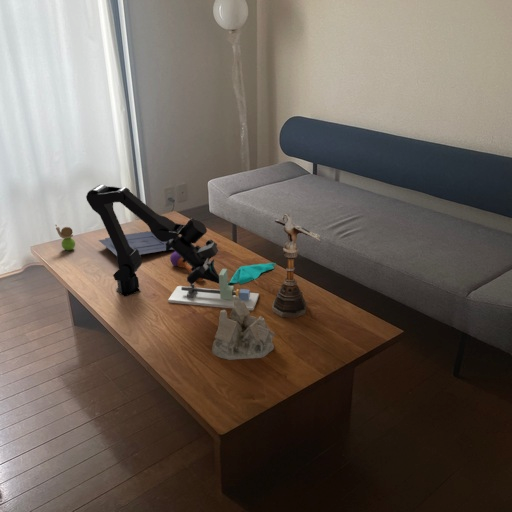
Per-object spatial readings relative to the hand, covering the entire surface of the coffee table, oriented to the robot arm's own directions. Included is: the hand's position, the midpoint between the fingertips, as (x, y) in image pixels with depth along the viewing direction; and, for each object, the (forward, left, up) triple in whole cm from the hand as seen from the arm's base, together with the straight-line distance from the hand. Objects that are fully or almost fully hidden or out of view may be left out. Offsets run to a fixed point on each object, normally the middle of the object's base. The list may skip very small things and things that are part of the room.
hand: (220, 282), depth 176 cm
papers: (-1, +58, -7) cm, 58 cm away
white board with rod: (-2, +2, -7) cm, 7 cm away
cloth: (+21, +9, -8) cm, 24 cm away
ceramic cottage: (-11, -27, -7) cm, 30 cm away
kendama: (+2, +26, -7) cm, 27 cm away
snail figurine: (-26, +75, -7) cm, 80 cm away
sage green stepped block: (+1, -2, -5) cm, 6 cm away
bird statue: (+17, -19, -7) cm, 26 cm away
